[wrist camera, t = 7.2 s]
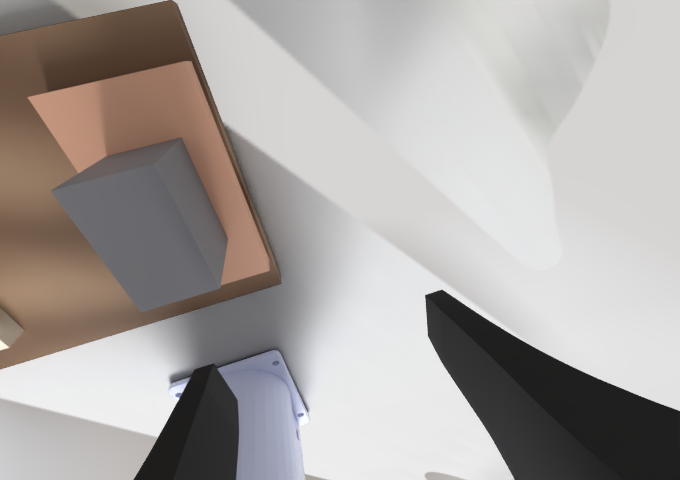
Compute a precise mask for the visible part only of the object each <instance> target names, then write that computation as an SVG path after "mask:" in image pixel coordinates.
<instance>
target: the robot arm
mask: <svg viewBox="0 0 680 480" xmlns="http://www.w3.org/2000/svg"><path fill="white" fill-rule="evenodd" d="M425 298H426V312H427V326H428V337H429V339H430V341H431V342H432V344H433V346H434V348H435V350H436V352H437V354H438V356H439V358H440V360H441V362H442V363H443V365H444V367H445V368H446V370H447V371H448V373H449V374H450V376H451V377H452V379H453V380H454V382H455V383H456V385H457V386H458V388H459V389H460V391H461V392H462V394H463V395H464V396H465V398H466V399H467V401H468V402H469V404H470V405H471V407H472V408H473V410H474V411H475V413H476V414H477V416H478V417H479V419H480V420H481V422H482V423H483V425H484V426H485V428H486V430H487V431H488V433H489V434H490V436H491V438H492V439H493V441H494V443H495V444H496V446H497V448H498V450H499V452H500V453H501V455H502V457H503V459H504V461H505V462H506V464H507V466H508V468H509V470H510V471H511V473H512V475H513V477H514V479H515V480H680V411H678V410H675V409H672V408H670V407H667V406H664V405H662V404H659V403H656V402H653V401H651V400H648V399H646V398H643V397H641V396H638V395H636V394H633V393H631V392H629V391H626V390H624V389H621V388H619V387H616V386H614V385H612V384H609V383H607V382H604V381H602V380H599V379H597V378H595V377H593V376H591V375H588V374H586V373H584V372H582V371H580V370H577V369H575V368H573V367H571V366H569V365H567V364H565V363H563V362H561V361H559V360H557V359H555V358H553V357H551V356H549V355H547V354H545V353H543V352H542V351H540V350H538V349H536V348H534V347H532V346H531V345H529V344H527V343H525V342H523V341H522V340H520V339H518V338H516V337H515V336H513V335H511V334H510V333H508V332H506V331H505V330H503V329H501V328H500V327H498V326H497V325H495V324H493V323H492V322H490V321H489V320H487V319H485V318H484V317H482V316H481V315H479V314H478V313H476V312H475V311H473V310H472V309H470V308H469V307H467V306H466V305H464V304H463V303H461V302H460V301H458V300H457V299H455V298H454V297H452V296H451V295H449V294H448V293H446V292H445V291H443V290H440V291H437V292H434V293H431V294H427V295H425ZM168 392H169V393H170V394H171V396H172V397H173V398H174V399H175V400H176V402H177V404H176V406H175V408H174V410H173V411H172V413H171V415H170V417H169V419H168V421H167V423H166V424H165V426H164V428H163V430H162V432H161V433H160V435H159V437H158V439H157V441H156V443H155V444H154V446H153V448H152V450H151V451H150V453H149V455H148V457H147V458H146V460H145V462H144V463H143V465H142V467H141V468H140V470H139V472H138V473H137V475H136V477H135V478H134V480H305V475H304V466H303V458H302V449H301V441H300V432H299V426H301V425H304V424H306V423H308V422H309V415H308V412H307V410H306V408H305V406H304V404H303V402H302V399H301V397H300V395H299V393H298V391H297V389H296V386H295V384H294V382H293V380H292V378H291V376H290V373H289V371H288V369H287V367H286V365H285V362H284V360H283V358H282V356H281V354H280V352H279V351H277V350H272V351H269V352H266V353H263V354H260V355H257V356H254V357H250V358H247V359H244V360H241V361H238V362H235V363H232V364H229V365H226V366H223V367H220V368H217V367H216V366H215V364H211V365H208V366H205V367H202V368H198V369H195V370H194V372H193V374H192V376H191V377H189V378H186V379H183V380H180V381H177V382H174V383H172V384H171V385H170V386H169V390H168Z"/></svg>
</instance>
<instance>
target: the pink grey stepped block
mask: <svg viewBox="0 0 680 480" xmlns="http://www.w3.org/2000/svg"><path fill="white" fill-rule="evenodd" d="M28 99H29V100H30V102H31V103H32V105H33V106H34V108H35V109H36V111H37V112H38V114H39V115H40V117H41V118H42V120H43V121H44V123H45V124H46V126H47V127H48V129H49V130H50V132H51V133H52V135H53V136H54V138H55V139H56V141H57V142H58V144H59V145H60V147H61V148H62V150H63V151H64V152H65V154H66V155H67V157H68V158H69V160H70V161H71V163H72V164H73V166H74V167H75V169H76V170H77V172H78V174H77V175H75V176H73V177H72V178H70V179H69V180H67V181H65V182H64V183H62V184H61V185H59V186H57V187H56V188H54V189H52V190H51V192H52V194H53V195H54V196H55V198H56V199H57V201H58V202H59V203H60V205H61V206H62V207H63V209H64V210H65V211H66V213H67V214H68V215H69V217H70V218H71V219H72V221H73V222H74V223H75V225H76V226H77V227H78V229H79V230H80V231H81V233H82V234H83V235H84V237H85V238H86V239H87V241H88V242H89V243H90V245H91V246H92V248H93V249H94V250H95V252H96V253H97V254H98V256H99V257H100V258H101V260H102V261H103V262H104V264H105V265H106V266H107V268H108V269H109V270H110V272H111V273H112V274H113V276H114V277H115V278H116V280H117V281H118V282H119V284H120V285H121V286H122V288H123V289H124V290H125V292H126V293H127V295H128V296H129V297H130V299H131V300H132V301H133V303H134V304H135V305H136V307H137V308H138V309H139V311H140V312H144V311H147V310H151V309H154V308H157V307H161V306H164V305H167V304H171V303H174V302H177V301H181V300H184V299H187V298H191V297H194V296H197V295H201V294H204V293H207V292H211V291H214V290H217V289H220V286H221V285H224V284H227V283H231V282H234V281H237V280H241V279H244V278H247V277H251V276H254V275H257V274H261V273H264V272H267V271H270V267H269V258H268V255H267V253H266V250H265V247H264V245H263V242H262V240H261V237H260V235H259V232H258V230H257V227H256V225H255V222H254V219H253V217H252V214H251V212H250V209H249V207H248V204H247V202H246V199H245V197H244V194H243V191H242V189H241V186H240V184H239V181H238V179H237V176H236V174H235V171H234V169H233V166H232V163H231V161H230V158H229V156H228V153H227V151H226V148H225V146H224V143H223V141H222V138H221V135H220V133H219V130H218V128H217V125H216V123H215V120H214V118H213V115H212V113H211V110H210V107H209V105H208V102H207V100H206V97H205V95H204V92H203V90H202V87H201V85H200V82H199V79H198V77H197V74H196V72H195V69H194V67H193V64H192V62H191V61H183V62H179V63H175V64H170V65H166V66H161V67H157V68H153V69H148V70H144V71H140V72H135V73H131V74H126V75H122V76H118V77H113V78H109V79H105V80H100V81H96V82H92V83H87V84H83V85H78V86H74V87H70V88H65V89H61V90H57V91H52V92H48V93H43V94H39V95H35V96H30V97H28Z"/></svg>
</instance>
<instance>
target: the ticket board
mask: <svg viewBox="0 0 680 480" xmlns="http://www.w3.org/2000/svg"><path fill="white" fill-rule="evenodd" d="M183 61H191V62H192V64H193V67H194V69H195V72H196V74H197V77H198V79H199V82H200V85H201V87H202V90H203V92H204V95H205V97H206V100H207V102H208V105H209V107H210V110H211V113H212V115H213V118H214V120H215V123H216V125H217V128H218V130H219V133H220V135H221V138H222V141H223V143H224V146H225V148H226V151H227V153H228V156H229V158H230V161H231V163H232V166H233V169H234V171H235V174H236V176H237V179H238V181H239V184H240V186H241V189H242V191H243V194H244V197H245V199H246V202H247V204H248V207H249V209H250V212H251V214H252V217H253V219H254V222H255V225H256V227H257V230H258V232H259V235H260V237H261V240H262V242H263V245H264V247H265V250H266V253H267V255H268V258H269V267H270V271H267V272H264V273H261V274H257V275H254V276H251V277H247V278H244V279H241V280H237V281H234V282H231V283H227V284H224V285H221V286H220V289H217V290H214V291H211V292H207V293H204V294H201V295H197V296H194V297H191V298H187V299H184V300H181V301H177V302H174V303H171V304H167V305H164V306H161V307H157V308H154V309H151V310H147V311H144V312H140V311H139V309H138V308H137V307H136V305H135V304H134V303H133V301H132V300H131V299H130V297H129V296H128V295H127V293H126V292H125V290H124V289H123V288H122V286H121V285H120V284H119V282H118V281H117V280H116V278H115V277H114V276H113V274H112V273H111V272H110V270H109V269H108V268H107V266H106V265H105V264H104V262H103V261H102V260H101V258H100V257H99V256H98V254H97V253H96V252H95V250H94V249H93V248H92V246H91V245H90V243H89V242H88V241H87V239H86V238H85V237H84V235H83V234H82V233H81V231H80V230H79V229H78V227H77V226H76V225H75V223H74V222H73V221H72V219H71V218H70V217H69V215H68V214H67V213H66V211H65V210H64V209H63V207H62V206H61V205H60V203H59V202H58V201H57V199H56V198H55V196H54V195H53V194H52V192H51V190H52V189H54V188H56V187H57V186H59V185H61V184H62V183H64V182H65V181H67V180H69V179H70V178H72V177H73V176H75V175H77V174H78V172H77V170H76V169H75V167H74V166H73V164H72V163H71V161H70V160H69V158H68V157H67V155H66V154H65V152H64V151H63V150H62V148H61V147H60V145H59V144H58V142H57V141H56V139H55V138H54V136H53V135H52V133H51V132H50V130H49V129H48V127H47V126H46V124H45V123H44V121H43V120H42V118H41V117H40V115H39V114H38V112H37V111H36V109H35V108H34V106H33V105H32V103H31V102H30V100H29V99H28V97H30V96H35V95H39V94H43V93H48V92H52V91H57V90H61V89H65V88H70V87H74V86H78V85H83V84H87V83H92V82H96V81H100V80H105V79H109V78H113V77H118V76H122V75H126V74H131V73H135V72H140V71H144V70H148V69H153V68H157V67H161V66H166V65H170V64H175V63H179V62H183ZM279 284H281V276H280V272H279V269H278V267H277V264H276V262H275V259H274V256H273V254H272V251H271V248H270V246H269V243H268V241H267V238H266V235H265V233H264V230H263V227H262V225H261V222H260V220H259V217H258V214H257V212H256V209H255V207H254V204H253V201H252V199H251V196H250V193H249V191H248V188H247V186H246V183H245V180H244V178H243V175H242V172H241V170H240V167H239V165H238V162H237V159H236V157H235V154H234V151H233V149H232V146H231V144H230V141H229V138H228V136H227V133H226V130H225V128H224V125H223V123H222V120H221V117H220V115H219V112H218V109H217V107H216V104H215V102H214V99H213V96H212V94H211V91H210V88H209V86H208V83H207V81H206V78H205V75H204V73H203V70H202V68H201V65H200V62H199V60H198V57H197V55H196V52H195V49H194V47H193V44H192V41H191V39H190V36H189V33H188V31H187V28H186V26H185V23H184V21H183V18H182V15H181V13H180V10H179V7H178V5H177V4H176V3H175V2H174V1H172V0H169V1H164V2H159V3H154V4H150V5H145V6H140V7H135V8H131V9H126V10H121V11H116V12H111V13H107V14H102V15H97V16H92V17H88V18H83V19H78V20H73V21H68V22H64V23H59V24H54V25H49V26H45V27H40V28H35V29H30V30H25V31H21V32H16V33H11V34H6V35H2V36H0V369H3V368H7V367H10V366H13V365H16V364H20V363H23V362H26V361H30V360H33V359H36V358H39V357H43V356H46V355H49V354H53V353H56V352H59V351H62V350H66V349H69V348H72V347H75V346H79V345H82V344H85V343H89V342H92V341H95V340H98V339H102V338H105V337H108V336H112V335H115V334H118V333H121V332H125V331H128V330H131V329H134V328H138V327H141V326H144V325H148V324H151V323H154V322H157V321H161V320H164V319H167V318H171V317H174V316H177V315H180V314H184V313H187V312H190V311H193V310H197V309H200V308H203V307H207V306H210V305H213V304H216V303H220V302H223V301H226V300H230V299H233V298H236V297H239V296H243V295H246V294H249V293H252V292H256V291H259V290H262V289H266V288H269V287H272V286H275V285H279Z"/></svg>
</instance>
